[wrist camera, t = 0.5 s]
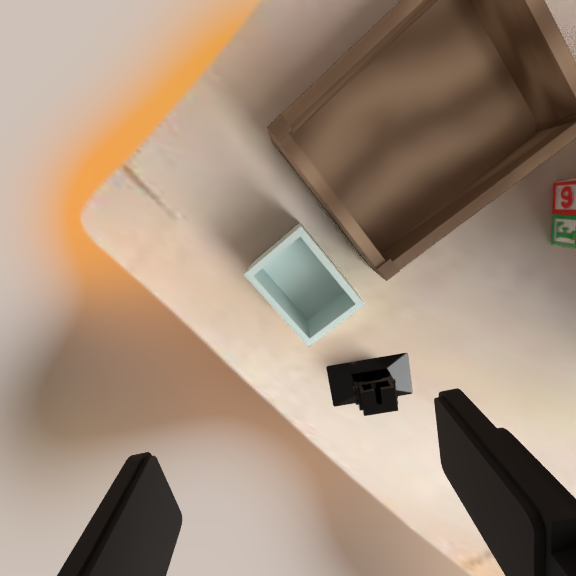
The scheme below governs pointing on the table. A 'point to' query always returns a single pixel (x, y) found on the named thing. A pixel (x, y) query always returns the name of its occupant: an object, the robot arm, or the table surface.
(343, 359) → the table surface
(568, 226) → the stack of blocks
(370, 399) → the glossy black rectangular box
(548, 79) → the big crate
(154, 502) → the robot arm
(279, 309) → the small crate
